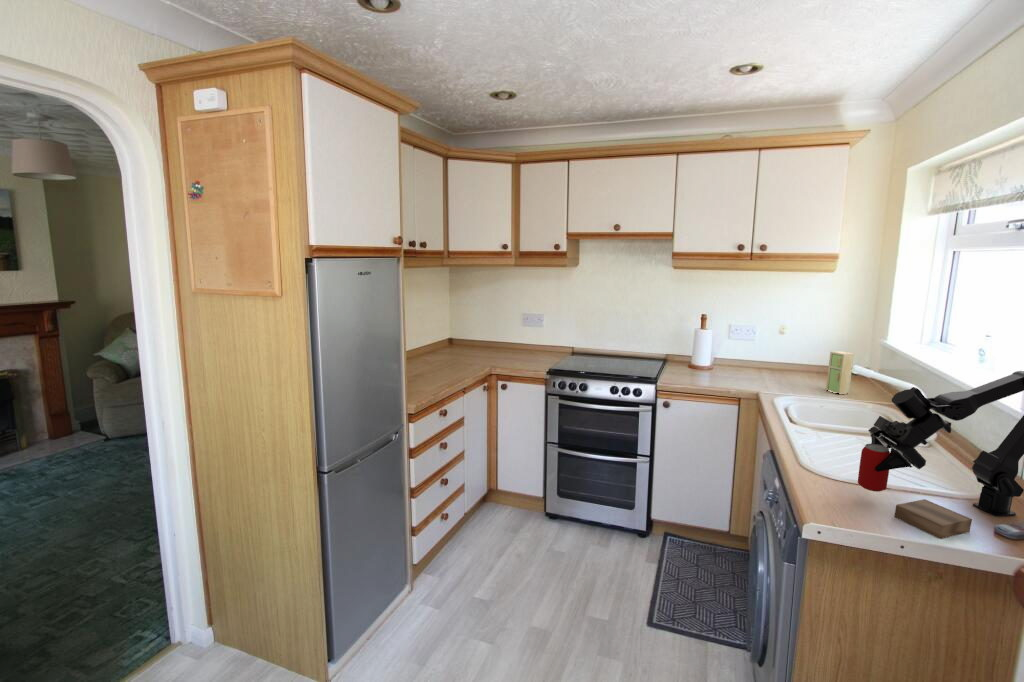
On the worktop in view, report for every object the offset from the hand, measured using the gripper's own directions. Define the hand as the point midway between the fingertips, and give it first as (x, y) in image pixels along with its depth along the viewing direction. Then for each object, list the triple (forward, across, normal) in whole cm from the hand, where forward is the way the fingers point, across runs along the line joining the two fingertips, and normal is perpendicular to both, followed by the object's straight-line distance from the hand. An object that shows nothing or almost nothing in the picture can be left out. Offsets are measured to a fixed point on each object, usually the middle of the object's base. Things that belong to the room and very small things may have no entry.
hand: (869, 465), depth 144 cm
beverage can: (+4, 0, +6) cm, 7 cm away
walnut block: (0, +12, +14) cm, 19 cm away
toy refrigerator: (-25, -128, +41) cm, 137 cm away
